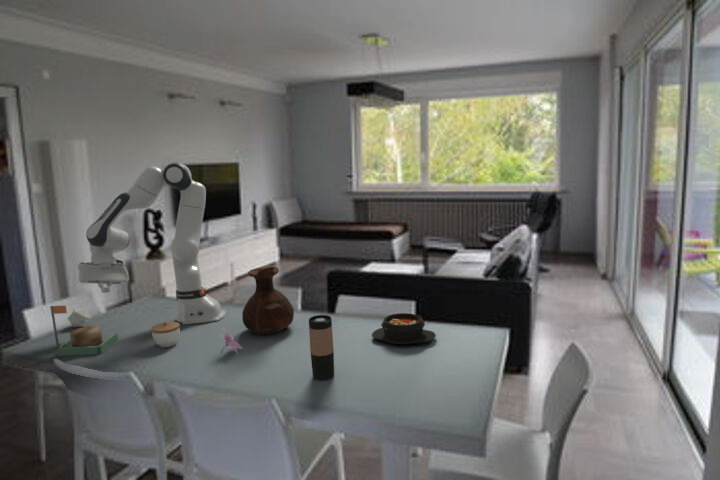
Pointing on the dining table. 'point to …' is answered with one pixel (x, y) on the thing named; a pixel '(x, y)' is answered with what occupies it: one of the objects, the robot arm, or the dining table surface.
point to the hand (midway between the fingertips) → (106, 292)
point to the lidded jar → (166, 333)
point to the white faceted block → (79, 318)
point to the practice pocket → (86, 350)
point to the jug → (266, 304)
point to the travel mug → (321, 347)
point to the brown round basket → (86, 336)
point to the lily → (230, 342)
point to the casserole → (403, 329)
